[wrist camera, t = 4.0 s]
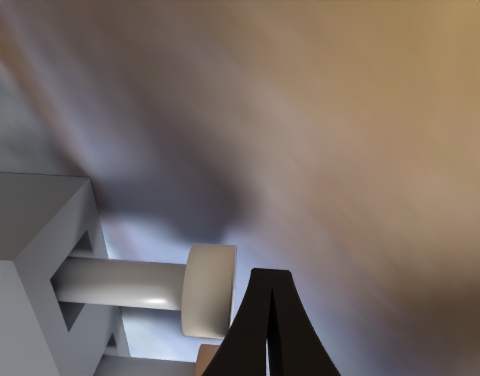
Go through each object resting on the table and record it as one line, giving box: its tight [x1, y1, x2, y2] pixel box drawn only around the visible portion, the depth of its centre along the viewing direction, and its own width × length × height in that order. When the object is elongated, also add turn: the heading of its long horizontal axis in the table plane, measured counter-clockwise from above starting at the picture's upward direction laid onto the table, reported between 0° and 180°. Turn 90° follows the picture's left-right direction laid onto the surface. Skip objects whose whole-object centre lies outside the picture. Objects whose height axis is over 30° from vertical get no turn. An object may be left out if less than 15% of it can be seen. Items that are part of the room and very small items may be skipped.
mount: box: [0, 172, 130, 376], centre depth 14 cm, size 6×12×5 cm, turn 179°
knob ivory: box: [50, 243, 237, 339], centre depth 13 cm, size 6×3×3 cm, turn 89°
